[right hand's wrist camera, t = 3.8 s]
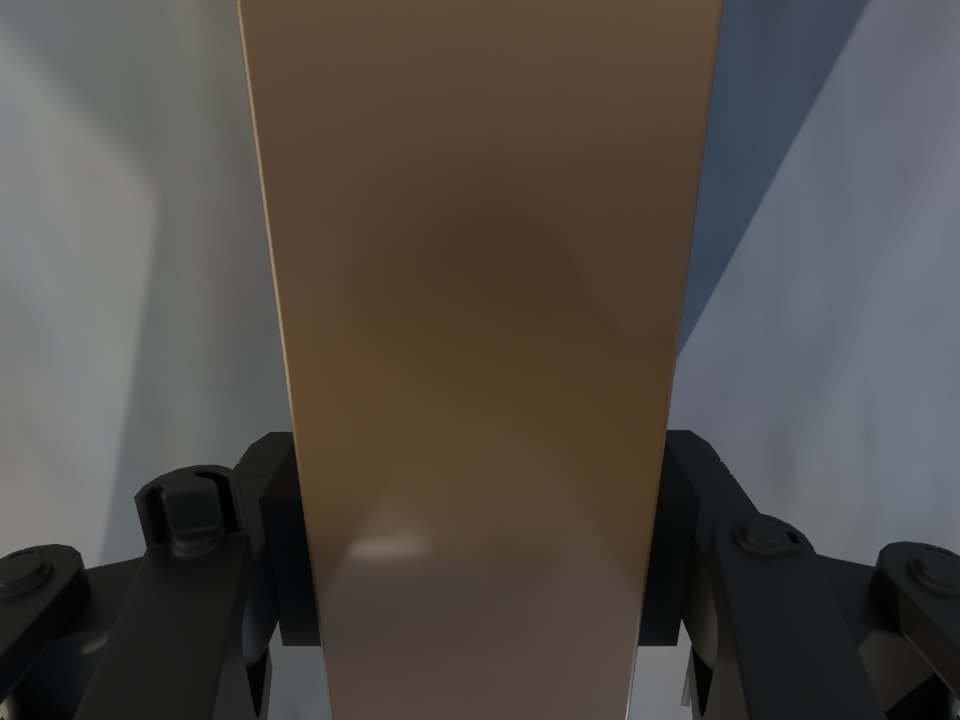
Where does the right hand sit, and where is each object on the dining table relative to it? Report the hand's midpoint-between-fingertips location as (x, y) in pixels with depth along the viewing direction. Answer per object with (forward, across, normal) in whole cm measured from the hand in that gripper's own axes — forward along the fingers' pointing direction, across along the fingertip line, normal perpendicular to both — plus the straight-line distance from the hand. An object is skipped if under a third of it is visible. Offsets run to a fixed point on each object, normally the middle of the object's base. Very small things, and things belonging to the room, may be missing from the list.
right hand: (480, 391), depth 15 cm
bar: (+1, 0, -31) cm, 31 cm away
